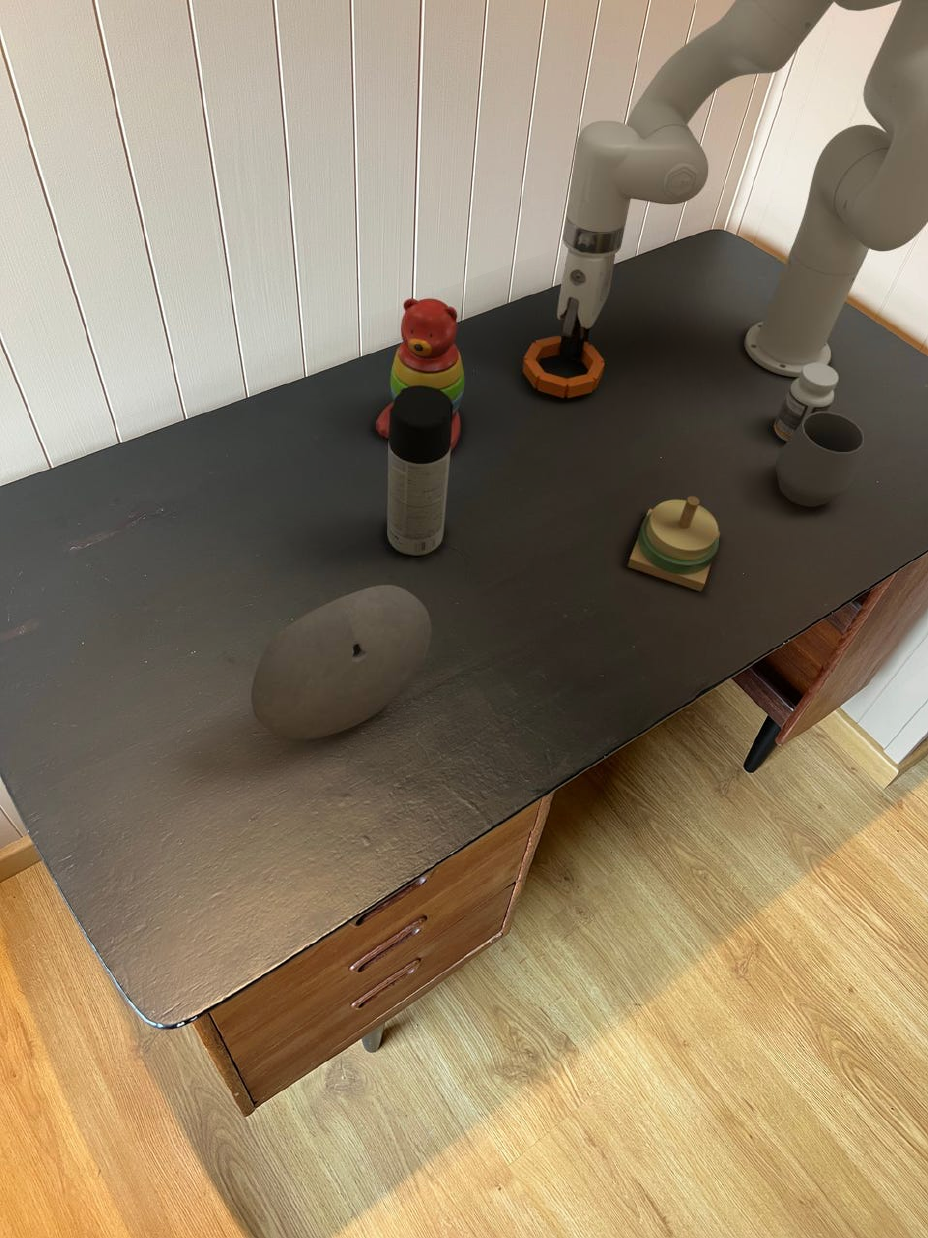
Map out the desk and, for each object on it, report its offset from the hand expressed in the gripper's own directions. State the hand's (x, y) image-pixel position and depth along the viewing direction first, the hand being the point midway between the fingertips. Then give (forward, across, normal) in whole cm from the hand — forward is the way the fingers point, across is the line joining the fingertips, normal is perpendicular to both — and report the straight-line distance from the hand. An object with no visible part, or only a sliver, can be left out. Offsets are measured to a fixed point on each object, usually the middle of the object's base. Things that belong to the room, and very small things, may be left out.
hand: (572, 351), depth 129 cm
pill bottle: (+2, -1, -32) cm, 33 cm away
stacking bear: (+1, -22, +14) cm, 26 cm away
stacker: (+2, -30, -22) cm, 37 cm away
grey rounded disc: (+1, -66, +3) cm, 66 cm away
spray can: (+1, -41, +6) cm, 41 cm away
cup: (+2, -12, -35) cm, 37 cm away
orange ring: (0, -4, 0) cm, 5 cm away
